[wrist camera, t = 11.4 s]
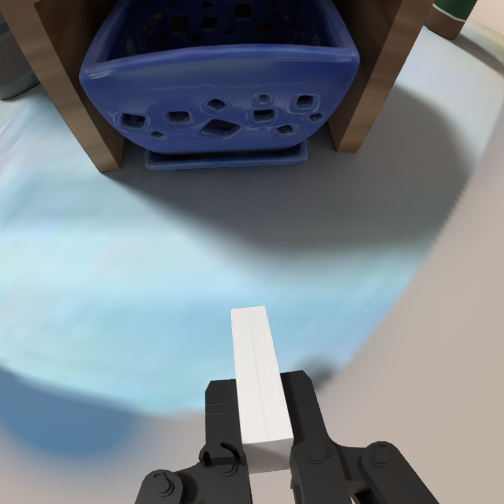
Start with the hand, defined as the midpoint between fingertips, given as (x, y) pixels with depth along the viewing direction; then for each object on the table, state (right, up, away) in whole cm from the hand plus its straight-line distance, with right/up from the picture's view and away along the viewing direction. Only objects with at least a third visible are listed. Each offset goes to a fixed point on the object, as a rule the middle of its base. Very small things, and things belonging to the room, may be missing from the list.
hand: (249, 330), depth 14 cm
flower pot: (-2, +14, +10) cm, 17 cm away
